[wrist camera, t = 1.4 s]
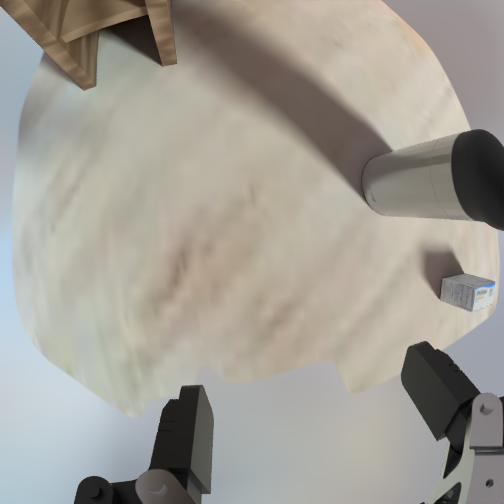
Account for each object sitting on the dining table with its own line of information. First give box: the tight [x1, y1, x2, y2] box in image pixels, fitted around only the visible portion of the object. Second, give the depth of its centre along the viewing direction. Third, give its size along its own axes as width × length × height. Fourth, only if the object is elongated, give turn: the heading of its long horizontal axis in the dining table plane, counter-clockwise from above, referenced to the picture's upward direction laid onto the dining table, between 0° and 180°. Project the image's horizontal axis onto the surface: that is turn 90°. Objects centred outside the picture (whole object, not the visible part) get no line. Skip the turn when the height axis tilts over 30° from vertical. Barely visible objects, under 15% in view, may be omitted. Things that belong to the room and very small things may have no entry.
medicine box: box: [440, 274, 495, 312], centre depth 38 cm, size 8×4×9 cm, turn 92°
